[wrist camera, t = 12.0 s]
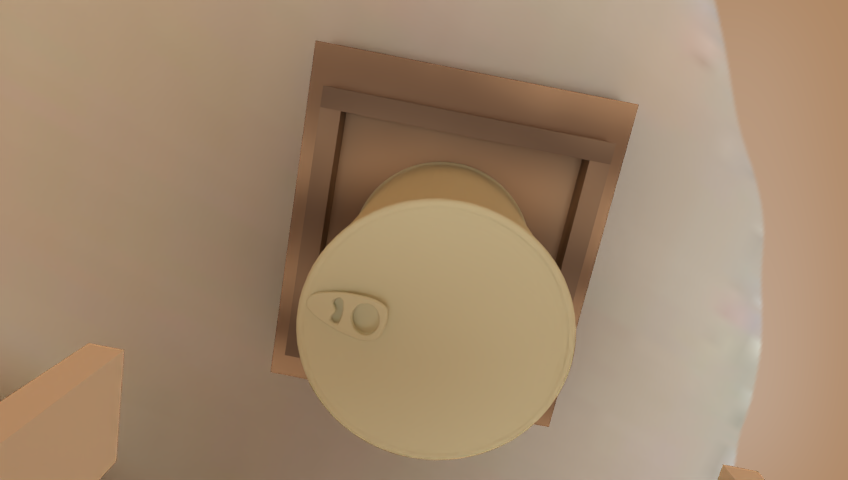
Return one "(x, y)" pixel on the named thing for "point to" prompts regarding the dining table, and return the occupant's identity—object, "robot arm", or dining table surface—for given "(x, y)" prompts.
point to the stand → (449, 159)
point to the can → (436, 318)
